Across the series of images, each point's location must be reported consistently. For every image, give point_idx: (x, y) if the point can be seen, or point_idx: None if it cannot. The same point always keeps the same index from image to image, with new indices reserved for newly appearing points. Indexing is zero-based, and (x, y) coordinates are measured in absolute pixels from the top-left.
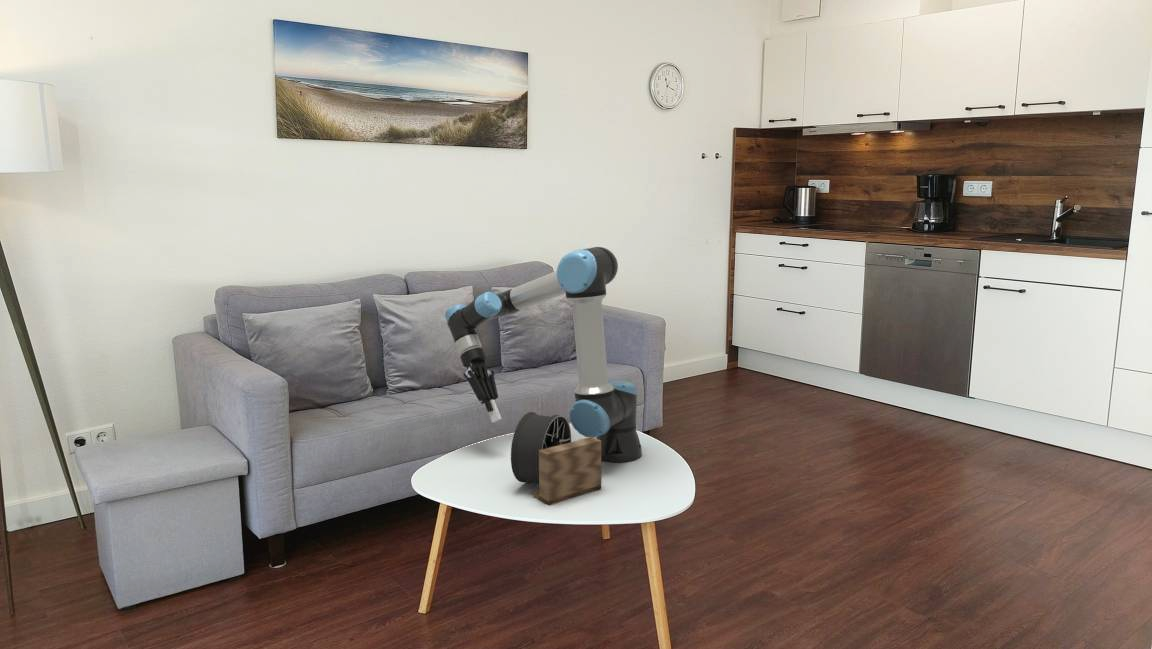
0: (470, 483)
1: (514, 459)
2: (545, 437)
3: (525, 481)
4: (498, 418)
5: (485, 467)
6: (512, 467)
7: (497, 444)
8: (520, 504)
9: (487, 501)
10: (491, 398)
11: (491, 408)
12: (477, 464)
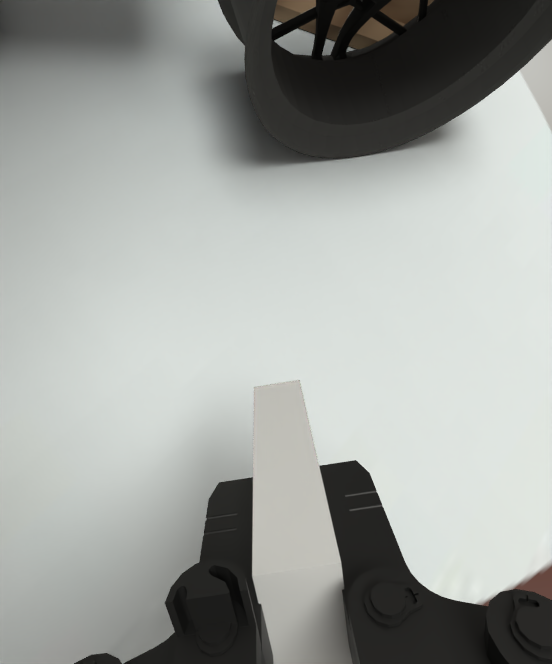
0: (506, 300)
1: (547, 20)
2: (274, 1)
3: (394, 132)
4: (299, 384)
5: (369, 375)
6: (520, 64)
7: (75, 601)
8: None
9: (544, 163)
10: (261, 662)
11: (352, 474)
12: (369, 431)
